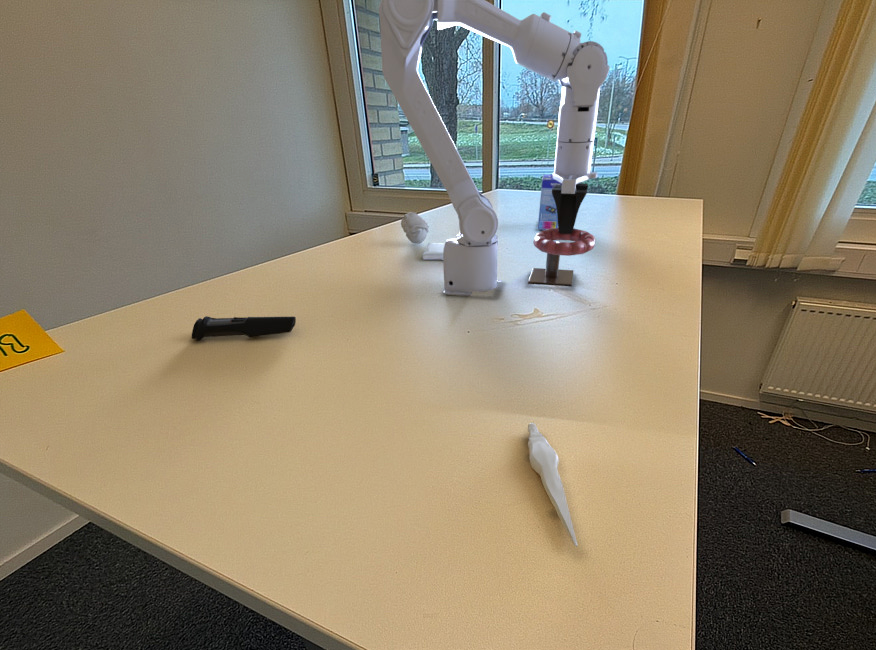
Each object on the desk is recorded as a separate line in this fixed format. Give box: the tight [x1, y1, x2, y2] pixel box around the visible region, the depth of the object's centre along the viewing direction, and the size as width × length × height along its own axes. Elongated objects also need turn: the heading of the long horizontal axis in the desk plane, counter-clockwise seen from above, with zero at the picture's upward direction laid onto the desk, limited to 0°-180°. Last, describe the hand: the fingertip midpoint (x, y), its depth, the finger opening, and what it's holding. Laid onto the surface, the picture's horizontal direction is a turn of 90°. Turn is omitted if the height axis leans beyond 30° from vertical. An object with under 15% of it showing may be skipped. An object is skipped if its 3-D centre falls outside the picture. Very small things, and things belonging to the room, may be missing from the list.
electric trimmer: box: [191, 315, 297, 341], centre depth 66 cm, size 4×16×3 cm, turn 91°
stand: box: [527, 253, 574, 288], centre depth 82 cm, size 8×8×7 cm
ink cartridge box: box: [537, 173, 562, 231], centre depth 114 cm, size 10×6×14 cm, turn 170°
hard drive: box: [422, 242, 445, 261], centre depth 99 cm, size 2×8×12 cm
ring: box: [532, 227, 596, 257], centre depth 73 cm, size 10×10×2 cm
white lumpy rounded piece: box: [400, 211, 430, 245], centre depth 105 cm, size 6×7×7 cm
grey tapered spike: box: [527, 422, 579, 547], centre depth 40 cm, size 15×3×2 cm, turn 7°
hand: (565, 231), depth 76 cm, fingers closed on ring, 2 cm apart
